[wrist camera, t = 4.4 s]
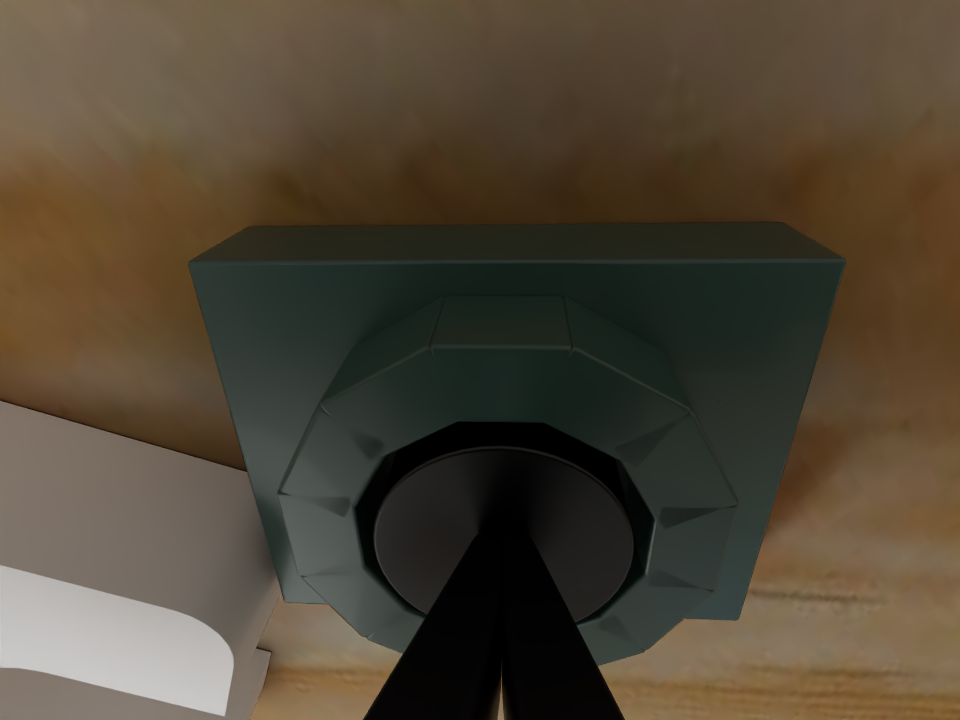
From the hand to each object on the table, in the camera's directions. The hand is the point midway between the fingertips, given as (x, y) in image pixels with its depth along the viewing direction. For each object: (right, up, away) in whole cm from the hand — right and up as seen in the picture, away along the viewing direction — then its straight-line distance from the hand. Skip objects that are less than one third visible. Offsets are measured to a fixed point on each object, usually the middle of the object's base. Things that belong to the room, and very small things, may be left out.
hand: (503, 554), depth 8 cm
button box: (0, +2, +4) cm, 4 cm away
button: (0, +1, +2) cm, 2 cm away
